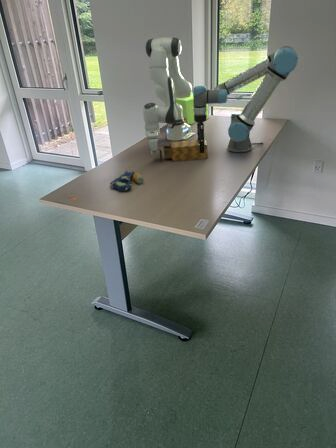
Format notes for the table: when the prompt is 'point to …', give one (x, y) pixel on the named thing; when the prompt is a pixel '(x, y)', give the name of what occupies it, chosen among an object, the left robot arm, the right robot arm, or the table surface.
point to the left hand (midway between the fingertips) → (154, 153)
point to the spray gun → (126, 180)
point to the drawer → (166, 151)
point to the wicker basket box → (188, 150)
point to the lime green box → (188, 108)
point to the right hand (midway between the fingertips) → (201, 149)
